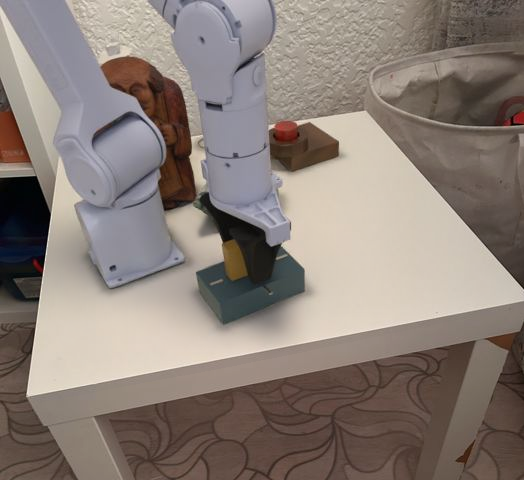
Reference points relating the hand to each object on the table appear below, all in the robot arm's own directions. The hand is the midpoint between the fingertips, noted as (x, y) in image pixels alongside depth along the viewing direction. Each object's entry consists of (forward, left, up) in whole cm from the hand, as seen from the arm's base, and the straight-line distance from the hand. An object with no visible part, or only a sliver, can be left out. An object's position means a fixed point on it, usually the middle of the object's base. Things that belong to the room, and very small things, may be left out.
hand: (249, 266), depth 58 cm
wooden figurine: (-2, +24, -4) cm, 24 cm away
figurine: (0, +33, -4) cm, 33 cm away
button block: (+20, +24, -4) cm, 31 cm away
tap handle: (0, 0, 0) cm, 0 cm away
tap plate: (0, 0, -3) cm, 3 cm away
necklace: (+12, +34, -4) cm, 36 cm away
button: (+18, +23, 0) cm, 29 cm away
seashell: (+6, +15, -4) cm, 17 cm away
